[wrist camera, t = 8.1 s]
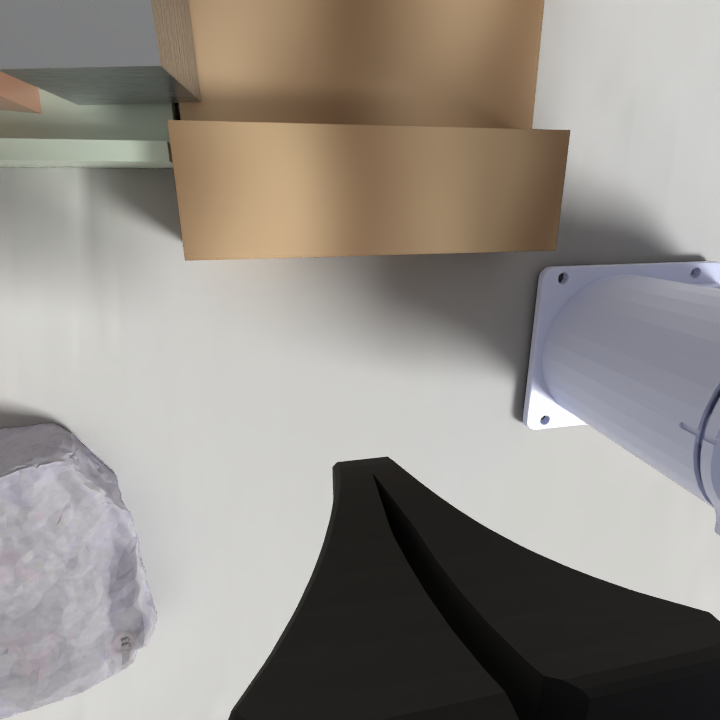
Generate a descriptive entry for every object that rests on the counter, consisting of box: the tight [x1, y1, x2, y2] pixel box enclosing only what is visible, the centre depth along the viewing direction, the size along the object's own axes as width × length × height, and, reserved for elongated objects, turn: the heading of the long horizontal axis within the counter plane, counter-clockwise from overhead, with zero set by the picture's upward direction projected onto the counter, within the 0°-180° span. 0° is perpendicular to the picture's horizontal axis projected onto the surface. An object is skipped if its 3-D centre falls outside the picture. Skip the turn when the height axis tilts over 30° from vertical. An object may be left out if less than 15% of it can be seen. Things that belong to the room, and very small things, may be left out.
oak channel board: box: [167, 0, 570, 261], centre depth 15 cm, size 13×14×4 cm
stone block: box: [0, 423, 157, 719], centre depth 19 cm, size 12×5×10 cm
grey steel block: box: [0, 0, 202, 105], centre depth 13 cm, size 4×4×4 cm
